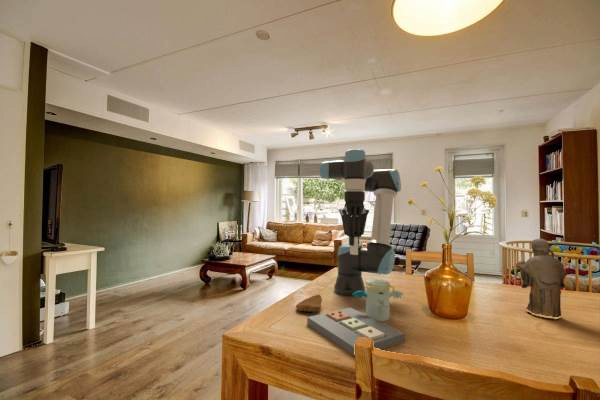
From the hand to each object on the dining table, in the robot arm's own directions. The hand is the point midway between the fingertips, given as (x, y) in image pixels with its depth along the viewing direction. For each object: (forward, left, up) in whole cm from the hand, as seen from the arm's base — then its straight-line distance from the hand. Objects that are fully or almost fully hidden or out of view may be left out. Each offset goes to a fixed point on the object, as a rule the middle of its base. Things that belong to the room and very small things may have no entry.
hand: (353, 254), depth 108 cm
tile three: (+7, 0, -24) cm, 25 cm away
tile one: (+7, +16, -24) cm, 30 cm away
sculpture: (-70, +32, -25) cm, 81 cm away
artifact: (+9, -17, -25) cm, 31 cm away
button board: (+7, +8, -24) cm, 27 cm away
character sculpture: (-10, +3, -25) cm, 27 cm away
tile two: (+7, +8, -24) cm, 26 cm away
